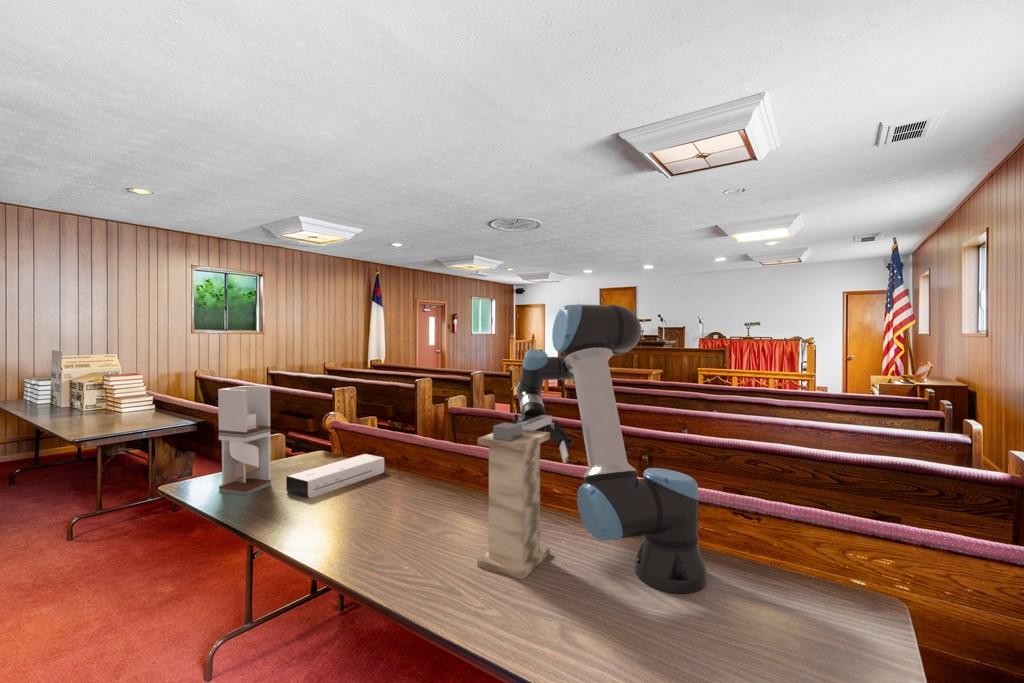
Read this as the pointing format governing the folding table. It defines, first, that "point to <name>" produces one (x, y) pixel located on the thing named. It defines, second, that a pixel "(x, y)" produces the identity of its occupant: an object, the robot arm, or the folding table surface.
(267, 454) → the white tower
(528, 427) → the grey long bar
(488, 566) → the pedestal
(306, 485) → the laminator
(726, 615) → the folding table surface
